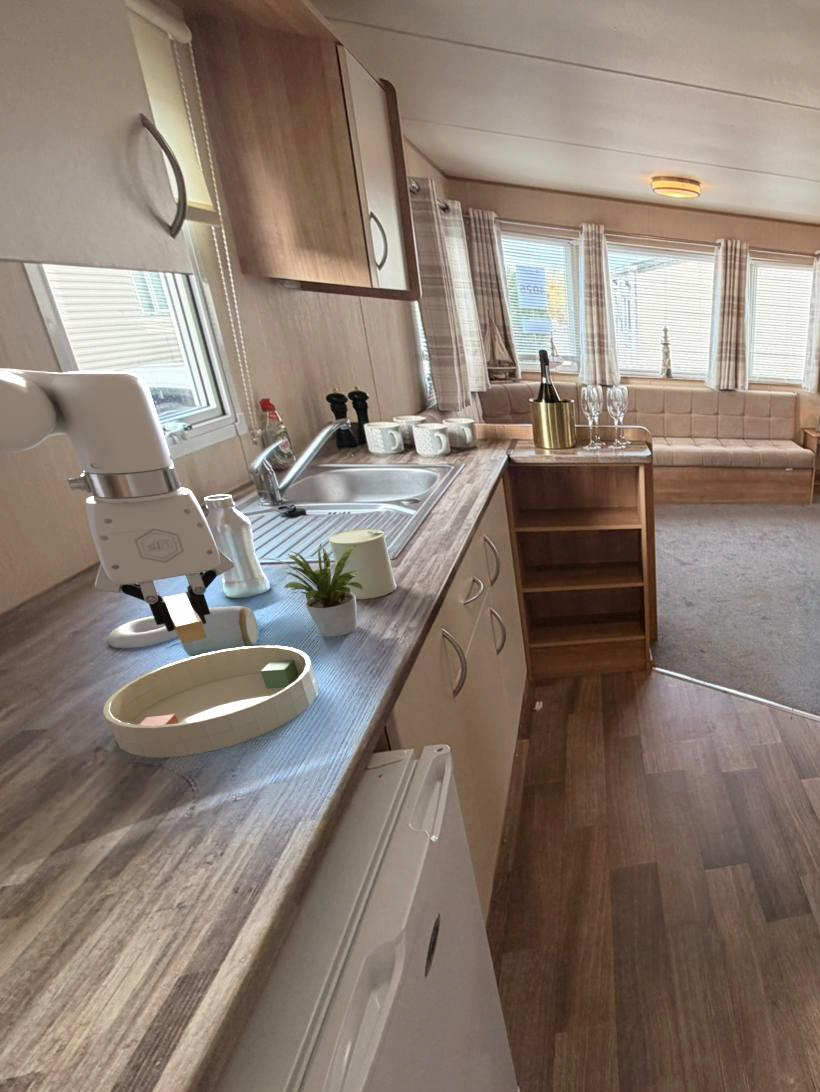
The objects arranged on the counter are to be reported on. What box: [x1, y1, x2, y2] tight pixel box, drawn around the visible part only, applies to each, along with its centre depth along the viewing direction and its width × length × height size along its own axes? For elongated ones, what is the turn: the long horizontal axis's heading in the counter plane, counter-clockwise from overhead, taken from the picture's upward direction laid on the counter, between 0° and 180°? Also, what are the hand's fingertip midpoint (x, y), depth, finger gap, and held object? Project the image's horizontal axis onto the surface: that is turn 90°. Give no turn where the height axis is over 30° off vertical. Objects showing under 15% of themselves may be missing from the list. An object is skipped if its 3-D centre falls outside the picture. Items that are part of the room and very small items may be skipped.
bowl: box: [102, 645, 320, 759], centre depth 87 cm, size 21×21×5 cm
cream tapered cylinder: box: [328, 528, 398, 600], centre depth 125 cm, size 9×9×12 cm
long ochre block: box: [162, 593, 207, 645], centre depth 81 cm, size 11×2×2 cm, turn 49°
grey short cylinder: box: [181, 605, 259, 657], centre depth 104 cm, size 11×8×8 cm
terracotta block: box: [139, 714, 179, 725], centre depth 81 cm, size 3×3×3 cm
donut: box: [107, 615, 181, 649], centre depth 104 cm, size 10×4×10 cm
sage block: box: [261, 660, 299, 689], centre depth 94 cm, size 3×3×3 cm
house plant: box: [261, 542, 362, 638], centre depth 107 cm, size 14×14×16 cm
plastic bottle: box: [203, 494, 271, 599], centre depth 117 cm, size 6×7×20 cm
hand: (185, 623), depth 82 cm, fingers closed on long ochre block, 2 cm apart
